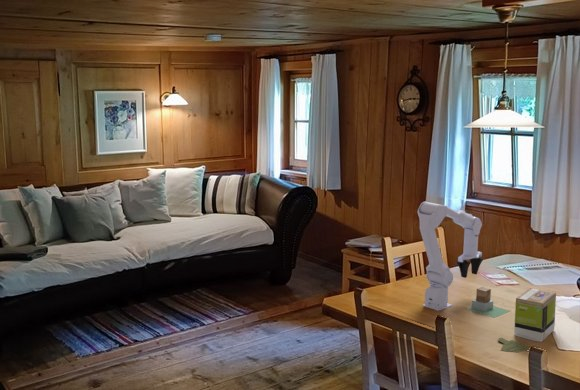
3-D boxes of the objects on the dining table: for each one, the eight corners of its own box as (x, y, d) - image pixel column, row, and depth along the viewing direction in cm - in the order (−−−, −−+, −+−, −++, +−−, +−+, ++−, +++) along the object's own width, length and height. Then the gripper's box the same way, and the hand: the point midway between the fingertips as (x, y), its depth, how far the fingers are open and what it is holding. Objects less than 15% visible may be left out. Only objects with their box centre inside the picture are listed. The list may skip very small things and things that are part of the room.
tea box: (527, 324, 242) (530, 287, 239) (554, 330, 236) (557, 292, 233) (513, 336, 230) (515, 296, 228) (541, 343, 224) (544, 302, 222)
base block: (484, 311, 255) (485, 304, 255) (471, 307, 260) (472, 300, 259) (493, 308, 259) (493, 300, 258) (480, 304, 263) (480, 297, 263)
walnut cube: (484, 303, 256) (485, 291, 255) (476, 300, 259) (476, 288, 258) (490, 301, 258) (490, 289, 258) (481, 298, 261) (482, 286, 261)
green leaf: (532, 363, 208) (532, 360, 208) (485, 345, 223) (486, 342, 222) (551, 355, 214) (551, 352, 214) (505, 338, 229) (505, 336, 229)
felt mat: (494, 318, 248) (494, 317, 248) (465, 309, 258) (465, 309, 258) (510, 311, 256) (510, 310, 256) (482, 303, 265) (482, 302, 265)
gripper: (468, 248, 261) (467, 280, 263) (488, 243, 270) (487, 274, 272) (454, 245, 266) (452, 277, 268) (474, 240, 276) (472, 270, 278)
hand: (469, 275), depth 271 cm, fingers open, 7 cm apart
